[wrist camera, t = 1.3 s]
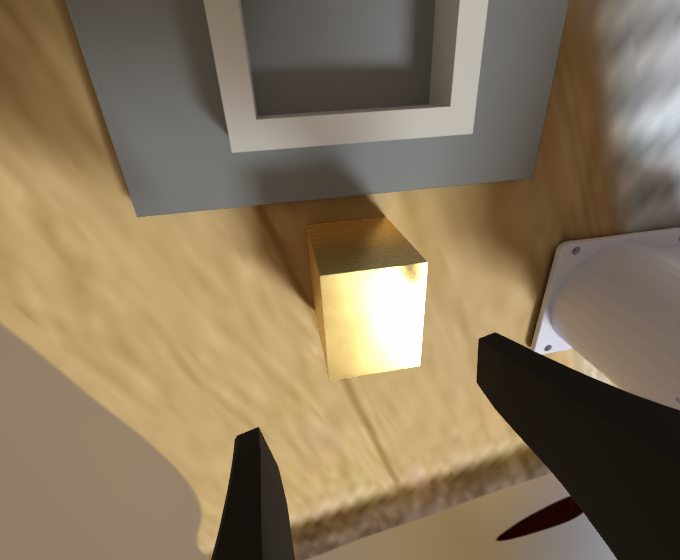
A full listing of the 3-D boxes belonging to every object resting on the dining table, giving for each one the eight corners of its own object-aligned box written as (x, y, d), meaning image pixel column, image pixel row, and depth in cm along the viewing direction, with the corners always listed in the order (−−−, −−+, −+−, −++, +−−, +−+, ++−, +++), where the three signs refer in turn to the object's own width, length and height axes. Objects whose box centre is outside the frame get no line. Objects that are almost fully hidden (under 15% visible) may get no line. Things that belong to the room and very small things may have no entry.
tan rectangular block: (385, 216, 18) (427, 262, 13) (384, 300, 20) (419, 365, 16) (305, 224, 17) (319, 276, 13) (314, 310, 20) (329, 380, 15)
